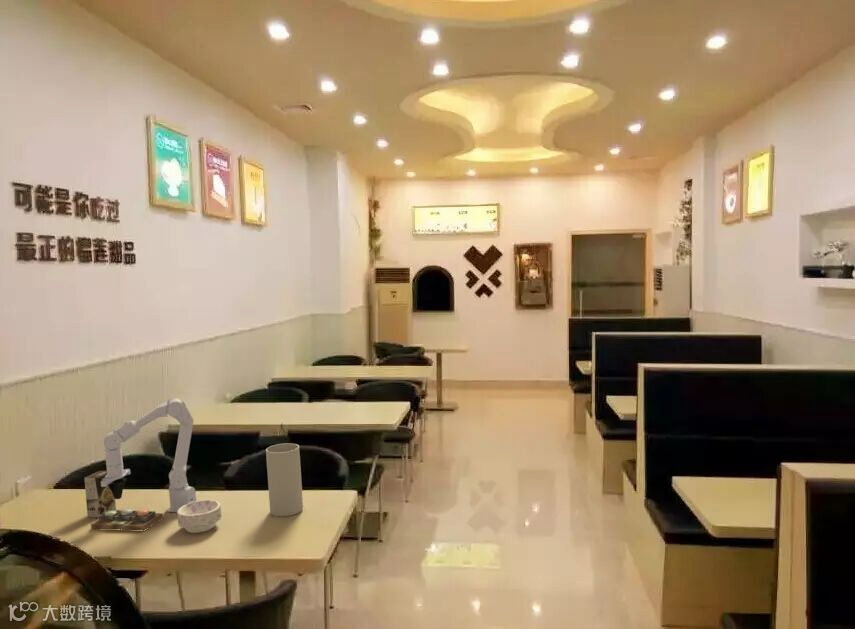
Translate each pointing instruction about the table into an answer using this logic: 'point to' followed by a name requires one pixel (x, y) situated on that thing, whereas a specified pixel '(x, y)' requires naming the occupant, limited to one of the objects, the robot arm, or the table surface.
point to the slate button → (126, 512)
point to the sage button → (110, 513)
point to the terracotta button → (143, 513)
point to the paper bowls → (199, 515)
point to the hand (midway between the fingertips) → (118, 498)
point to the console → (126, 521)
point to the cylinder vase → (284, 479)
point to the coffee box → (98, 495)
